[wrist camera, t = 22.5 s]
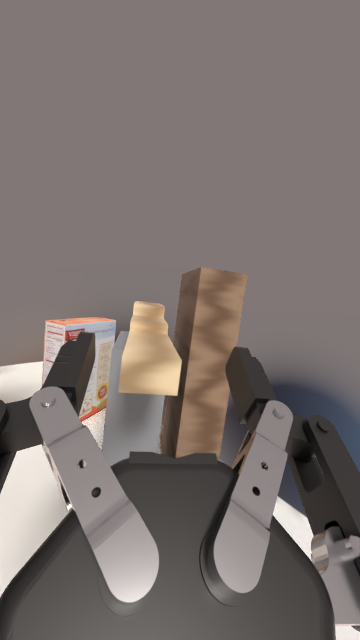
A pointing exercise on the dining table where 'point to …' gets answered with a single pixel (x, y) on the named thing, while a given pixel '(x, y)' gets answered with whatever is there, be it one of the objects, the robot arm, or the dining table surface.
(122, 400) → the step
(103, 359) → the cracker box
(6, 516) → the dining table surface
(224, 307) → the wooden block
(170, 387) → the tan wooden molding strip
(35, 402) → the robot arm
